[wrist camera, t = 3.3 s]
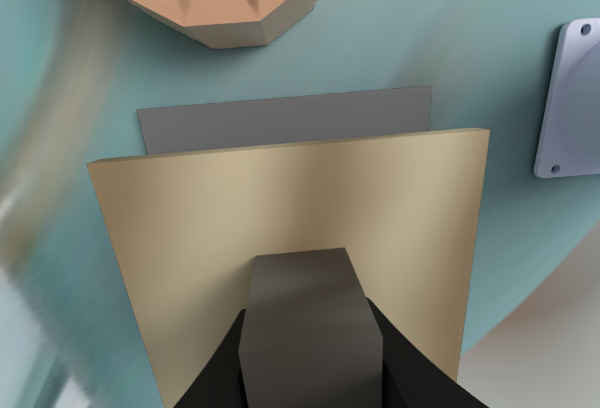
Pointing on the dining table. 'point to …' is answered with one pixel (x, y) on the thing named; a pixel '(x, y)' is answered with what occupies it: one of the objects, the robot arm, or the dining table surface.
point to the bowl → (228, 19)
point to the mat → (285, 120)
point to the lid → (298, 258)
